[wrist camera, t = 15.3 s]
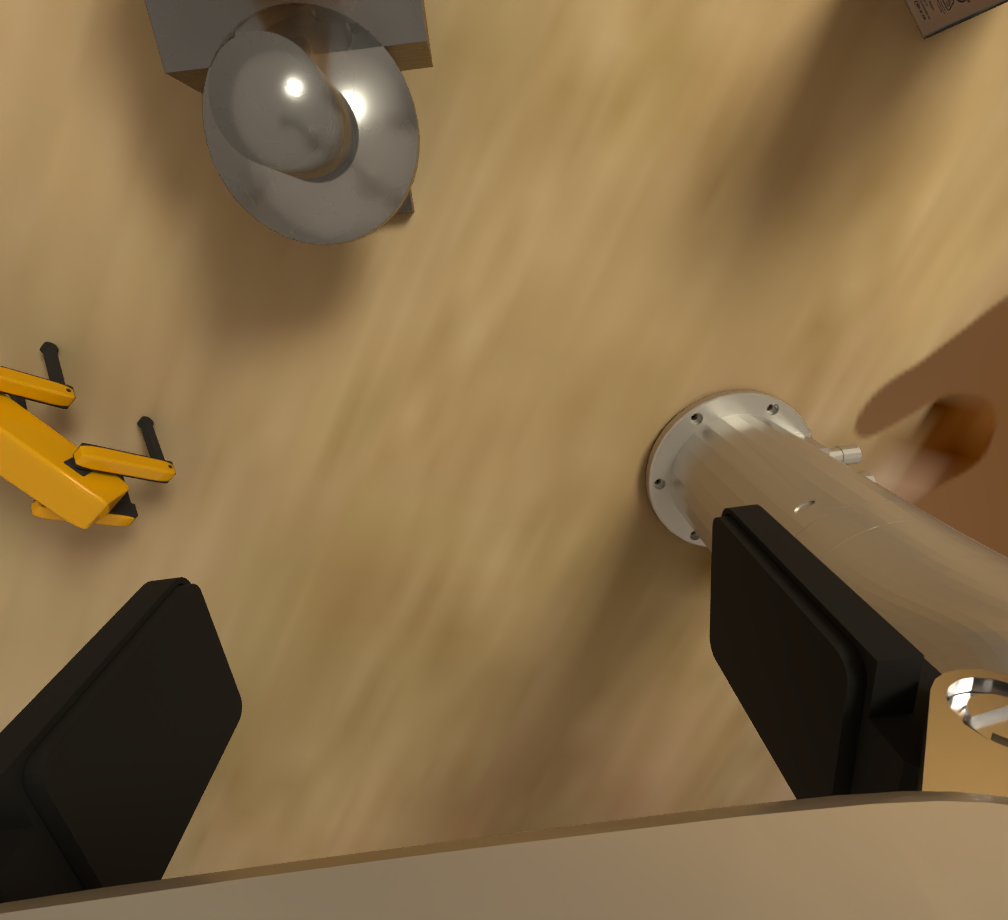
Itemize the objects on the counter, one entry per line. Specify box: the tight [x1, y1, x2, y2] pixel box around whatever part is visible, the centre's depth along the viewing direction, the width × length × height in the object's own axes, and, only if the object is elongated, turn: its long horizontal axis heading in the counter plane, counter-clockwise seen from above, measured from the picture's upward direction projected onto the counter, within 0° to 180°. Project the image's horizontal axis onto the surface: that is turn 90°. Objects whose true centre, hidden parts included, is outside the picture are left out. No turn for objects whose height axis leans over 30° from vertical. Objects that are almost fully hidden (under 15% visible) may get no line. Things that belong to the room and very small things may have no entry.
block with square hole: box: [145, 0, 433, 244], centre depth 26 cm, size 12×18×14 cm, turn 7°
